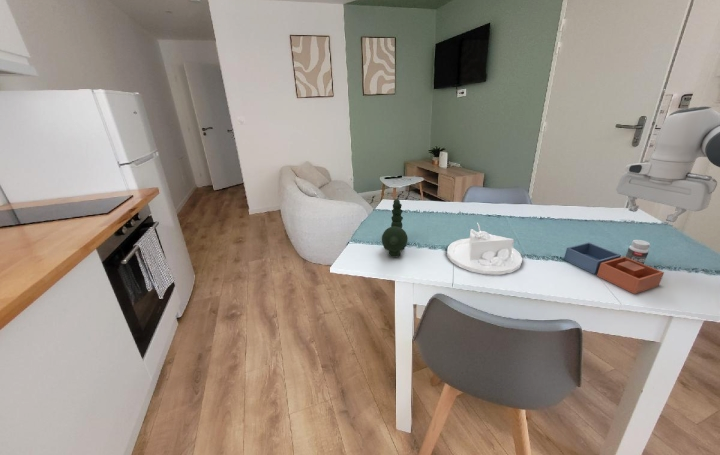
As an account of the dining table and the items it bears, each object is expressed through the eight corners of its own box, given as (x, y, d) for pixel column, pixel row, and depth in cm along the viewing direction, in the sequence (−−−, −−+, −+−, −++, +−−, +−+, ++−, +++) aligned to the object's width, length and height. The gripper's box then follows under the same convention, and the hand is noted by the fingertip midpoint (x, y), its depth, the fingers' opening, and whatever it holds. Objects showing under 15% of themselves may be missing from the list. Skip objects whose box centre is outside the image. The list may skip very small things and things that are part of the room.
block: (640, 281, 85) (645, 267, 84) (629, 284, 84) (634, 271, 82) (623, 273, 89) (627, 260, 88) (612, 276, 88) (617, 263, 86)
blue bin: (616, 267, 93) (621, 255, 92) (594, 274, 91) (598, 261, 89) (585, 253, 102) (588, 242, 101) (563, 259, 100) (566, 247, 98)
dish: (446, 269, 97) (448, 239, 93) (448, 238, 119) (450, 212, 115) (528, 279, 90) (534, 246, 86) (514, 243, 112) (519, 216, 108)
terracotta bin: (658, 285, 84) (664, 272, 82) (634, 294, 81) (639, 280, 79) (619, 268, 93) (624, 256, 91) (596, 275, 90) (600, 262, 88)
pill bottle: (628, 268, 93) (636, 245, 89) (620, 261, 97) (627, 238, 94) (646, 269, 92) (655, 246, 88) (637, 262, 96) (645, 239, 93)
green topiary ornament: (386, 239, 125) (379, 263, 102) (385, 196, 120) (379, 211, 96) (408, 239, 124) (406, 264, 100) (408, 196, 118) (407, 212, 95)
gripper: (727, 176, 73) (704, 226, 78) (634, 162, 91) (620, 204, 96) (712, 179, 71) (689, 230, 77) (620, 164, 89) (607, 207, 95)
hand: (650, 215), depth 87 cm, fingers open, 8 cm apart
